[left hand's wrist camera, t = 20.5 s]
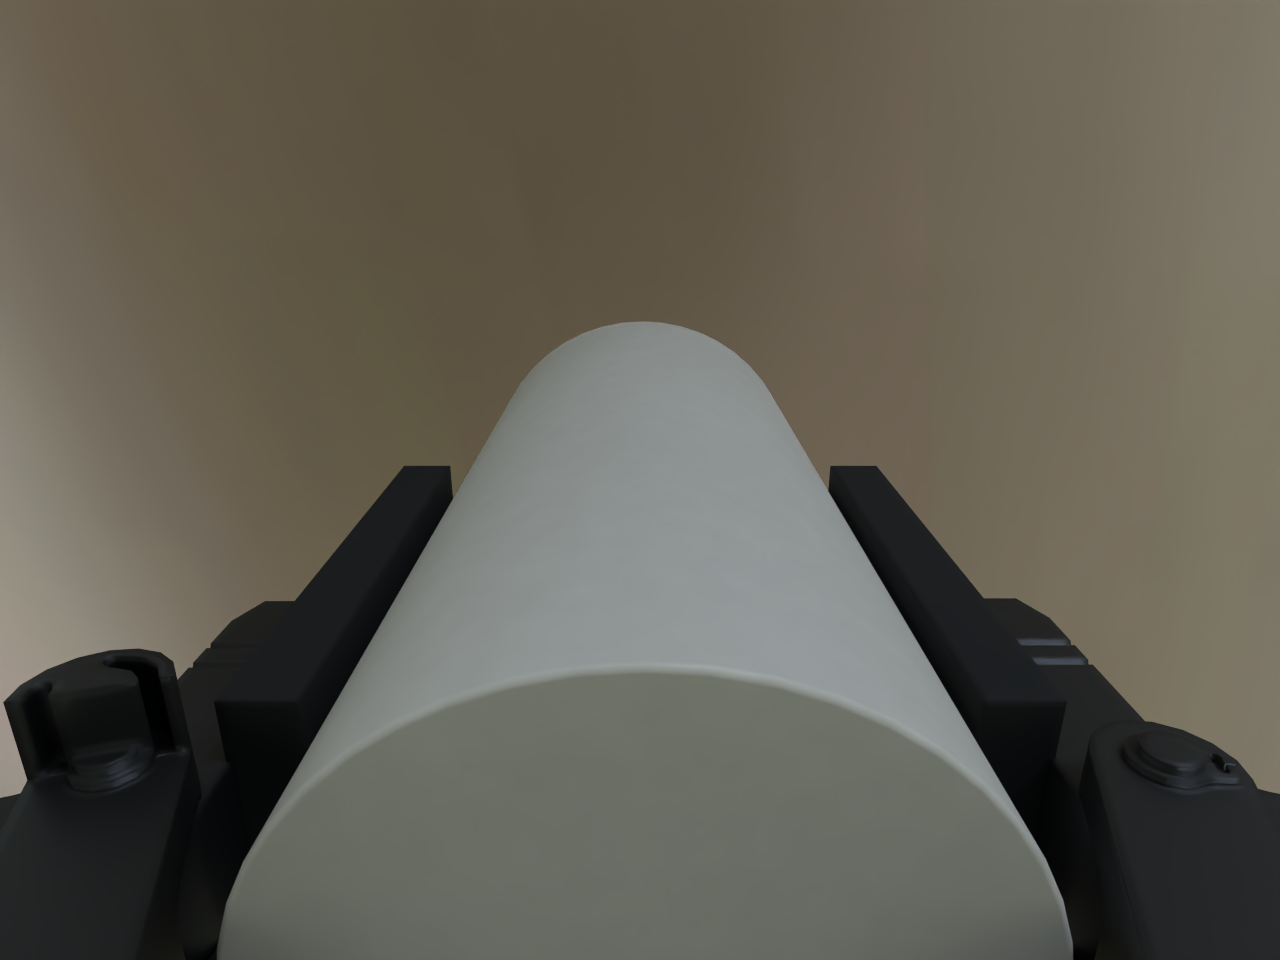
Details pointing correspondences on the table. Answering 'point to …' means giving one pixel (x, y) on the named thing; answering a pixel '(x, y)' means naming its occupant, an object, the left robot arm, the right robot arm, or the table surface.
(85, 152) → the table surface
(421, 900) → the canister
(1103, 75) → the table surface
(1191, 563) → the table surface
